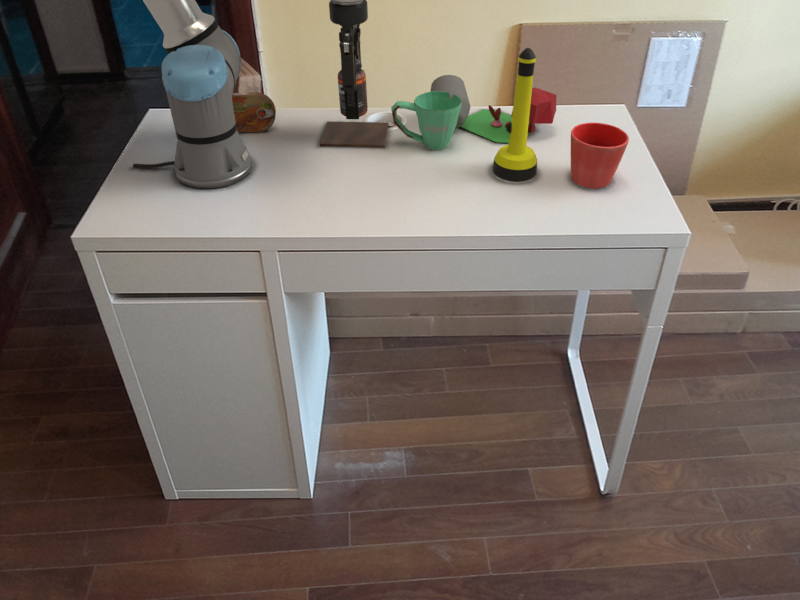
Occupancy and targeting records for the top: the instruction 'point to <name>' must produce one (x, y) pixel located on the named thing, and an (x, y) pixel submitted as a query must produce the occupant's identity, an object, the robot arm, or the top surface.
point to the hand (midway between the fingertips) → (354, 111)
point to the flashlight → (519, 130)
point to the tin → (253, 111)
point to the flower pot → (596, 153)
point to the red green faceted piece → (496, 122)
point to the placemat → (355, 134)
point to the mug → (431, 118)
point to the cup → (453, 87)
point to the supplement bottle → (361, 90)
